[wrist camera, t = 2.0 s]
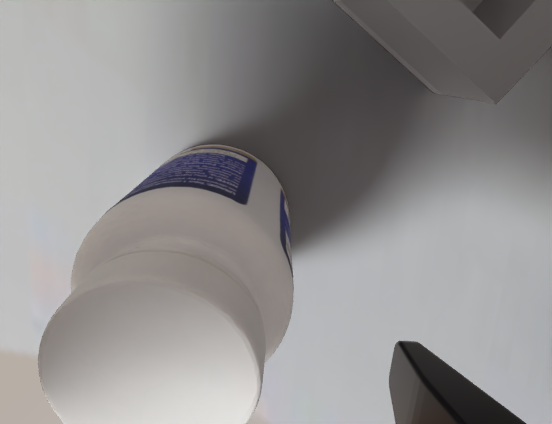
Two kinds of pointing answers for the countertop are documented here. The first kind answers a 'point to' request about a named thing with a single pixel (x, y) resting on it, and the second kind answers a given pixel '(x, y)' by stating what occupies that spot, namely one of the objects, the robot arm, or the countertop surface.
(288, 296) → the pill bottle
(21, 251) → the countertop surface
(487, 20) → the walled box
